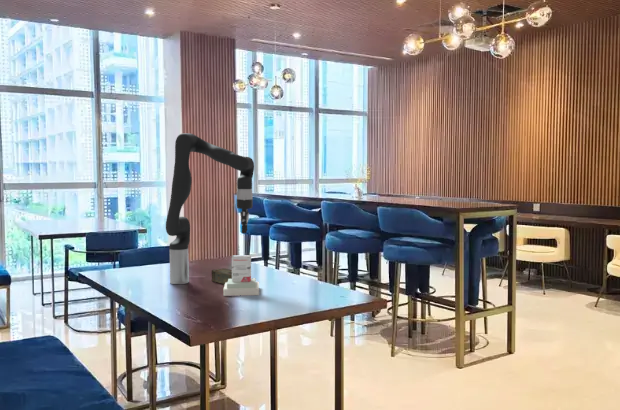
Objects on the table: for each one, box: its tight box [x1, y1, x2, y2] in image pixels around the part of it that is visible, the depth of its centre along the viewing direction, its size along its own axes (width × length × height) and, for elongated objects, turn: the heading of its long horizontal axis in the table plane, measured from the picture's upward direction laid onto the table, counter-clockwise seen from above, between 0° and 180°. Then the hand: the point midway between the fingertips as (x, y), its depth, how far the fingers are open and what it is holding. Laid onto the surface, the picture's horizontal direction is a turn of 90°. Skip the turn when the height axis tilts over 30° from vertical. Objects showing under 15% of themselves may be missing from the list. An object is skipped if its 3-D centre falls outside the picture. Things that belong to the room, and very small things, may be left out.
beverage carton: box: [211, 267, 232, 285], centre depth 282 cm, size 8×19×7 cm, turn 43°
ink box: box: [231, 254, 252, 282], centre depth 260 cm, size 9×5×12 cm, turn 87°
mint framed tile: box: [222, 277, 260, 297], centre depth 260 cm, size 16×16×5 cm
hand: (244, 232), depth 269 cm, fingers open, 8 cm apart
